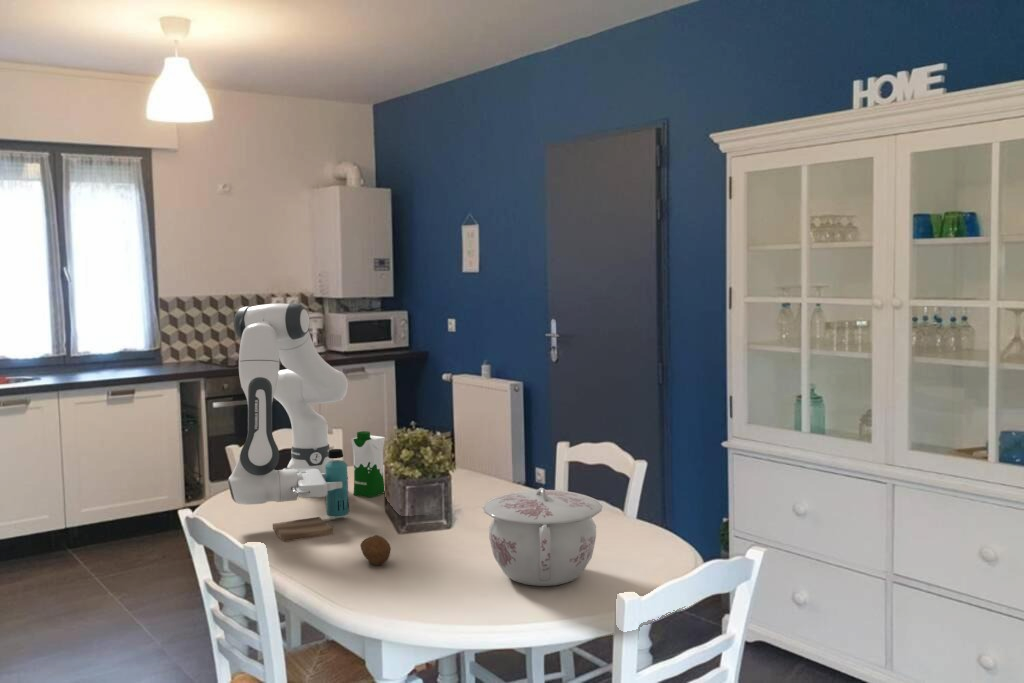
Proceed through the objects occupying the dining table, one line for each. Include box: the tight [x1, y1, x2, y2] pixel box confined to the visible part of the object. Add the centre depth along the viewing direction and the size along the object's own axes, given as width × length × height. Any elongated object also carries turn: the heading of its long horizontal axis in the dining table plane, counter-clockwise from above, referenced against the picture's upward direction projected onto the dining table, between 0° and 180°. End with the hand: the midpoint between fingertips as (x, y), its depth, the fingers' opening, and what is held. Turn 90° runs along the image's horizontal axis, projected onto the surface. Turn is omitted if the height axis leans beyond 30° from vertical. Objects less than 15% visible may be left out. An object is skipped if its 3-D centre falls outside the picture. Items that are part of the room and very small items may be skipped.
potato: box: [360, 534, 392, 566], centre depth 218 cm, size 7×12×7 cm, turn 36°
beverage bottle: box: [325, 448, 350, 518], centre depth 256 cm, size 6×7×20 cm
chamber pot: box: [481, 487, 603, 587], centre depth 207 cm, size 28×28×21 cm
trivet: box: [272, 516, 334, 542], centre depth 245 cm, size 13×13×2 cm
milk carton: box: [350, 430, 386, 499], centre depth 283 cm, size 9×9×20 cm
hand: (339, 480), depth 256 cm, fingers open, 8 cm apart
